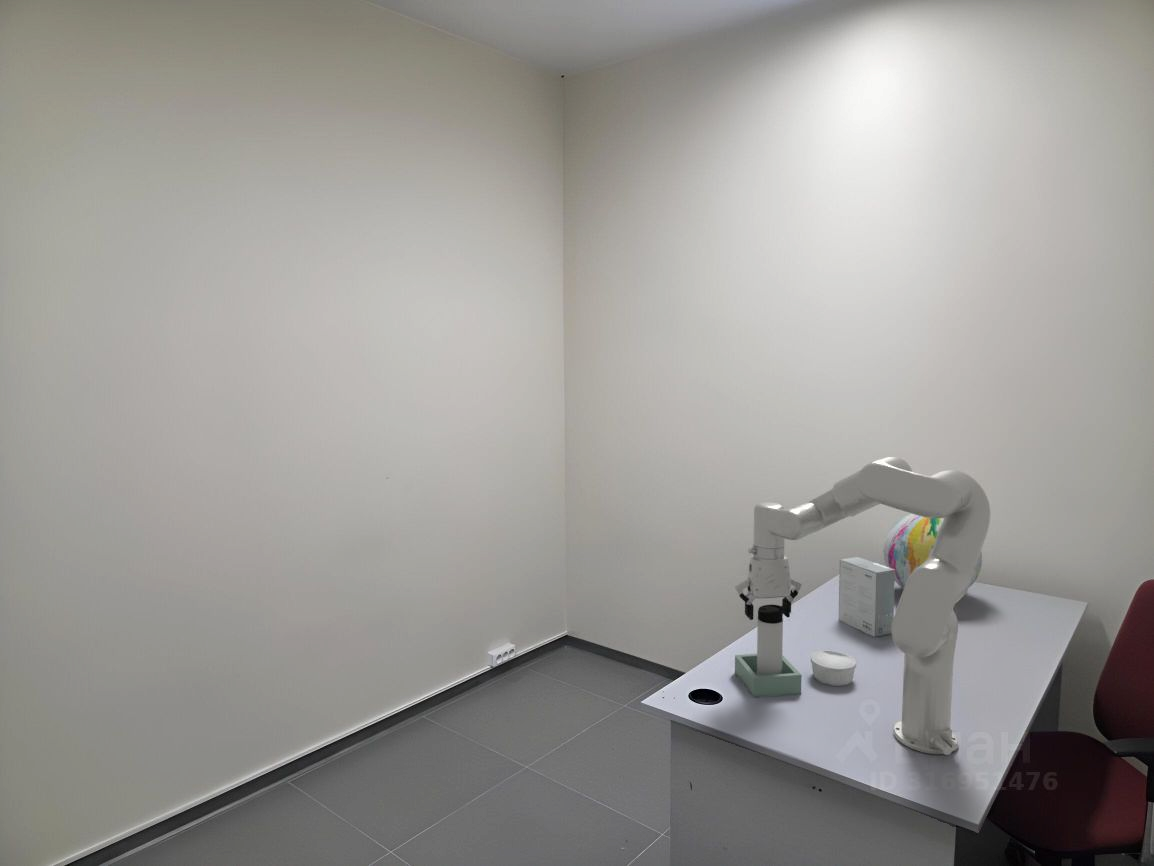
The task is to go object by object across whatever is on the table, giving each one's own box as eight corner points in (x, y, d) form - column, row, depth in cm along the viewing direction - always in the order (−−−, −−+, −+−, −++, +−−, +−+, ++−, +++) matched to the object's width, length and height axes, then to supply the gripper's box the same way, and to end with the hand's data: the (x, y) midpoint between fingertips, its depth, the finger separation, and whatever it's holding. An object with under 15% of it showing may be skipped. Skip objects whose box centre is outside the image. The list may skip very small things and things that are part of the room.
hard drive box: (894, 633, 208) (896, 569, 206) (874, 638, 205) (876, 573, 203) (855, 616, 222) (857, 555, 220) (837, 619, 219) (838, 558, 217)
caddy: (801, 693, 173) (801, 674, 172) (753, 697, 171) (753, 678, 171) (779, 669, 186) (779, 651, 186) (734, 673, 185) (734, 655, 184)
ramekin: (854, 671, 184) (855, 653, 184) (856, 691, 174) (857, 671, 173) (810, 666, 188) (811, 647, 187) (809, 684, 178) (810, 665, 177)
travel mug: (784, 687, 175) (785, 611, 173) (757, 685, 176) (758, 610, 174) (782, 676, 181) (783, 602, 179) (756, 674, 182) (757, 601, 180)
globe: (863, 588, 247) (865, 506, 244) (930, 578, 256) (933, 499, 253) (928, 618, 219) (932, 526, 215) (1001, 606, 228) (1006, 517, 224)
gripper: (741, 557, 170) (740, 624, 172) (808, 554, 172) (806, 620, 174) (730, 549, 177) (730, 613, 179) (794, 545, 179) (793, 609, 181)
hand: (767, 616), depth 177 cm, fingers open, 9 cm apart
